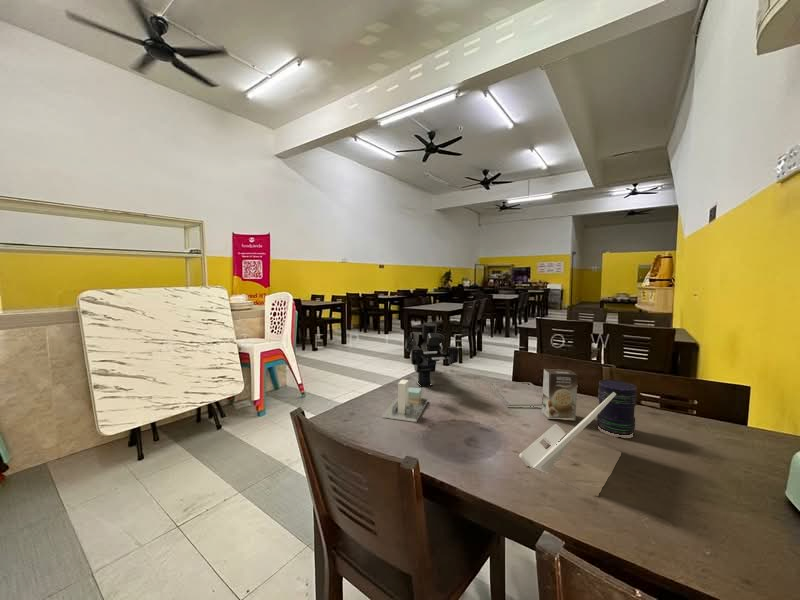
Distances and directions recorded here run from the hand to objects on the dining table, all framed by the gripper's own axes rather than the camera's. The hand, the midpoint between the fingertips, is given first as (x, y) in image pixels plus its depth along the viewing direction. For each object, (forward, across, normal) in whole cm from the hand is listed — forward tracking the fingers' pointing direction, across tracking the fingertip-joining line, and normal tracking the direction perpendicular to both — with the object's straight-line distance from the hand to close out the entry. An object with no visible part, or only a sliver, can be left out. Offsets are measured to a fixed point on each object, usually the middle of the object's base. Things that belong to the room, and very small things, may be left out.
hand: (440, 363), depth 118 cm
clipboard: (-6, +36, +18) cm, 41 cm away
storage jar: (+29, +49, +14) cm, 58 cm away
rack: (+3, -13, +16) cm, 21 cm away
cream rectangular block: (+7, -15, +14) cm, 22 cm away
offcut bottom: (-3, -10, +16) cm, 19 cm away
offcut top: (-3, -10, +14) cm, 17 cm away
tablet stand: (+41, +25, +12) cm, 49 cm away
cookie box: (+17, +38, +15) cm, 44 cm away
